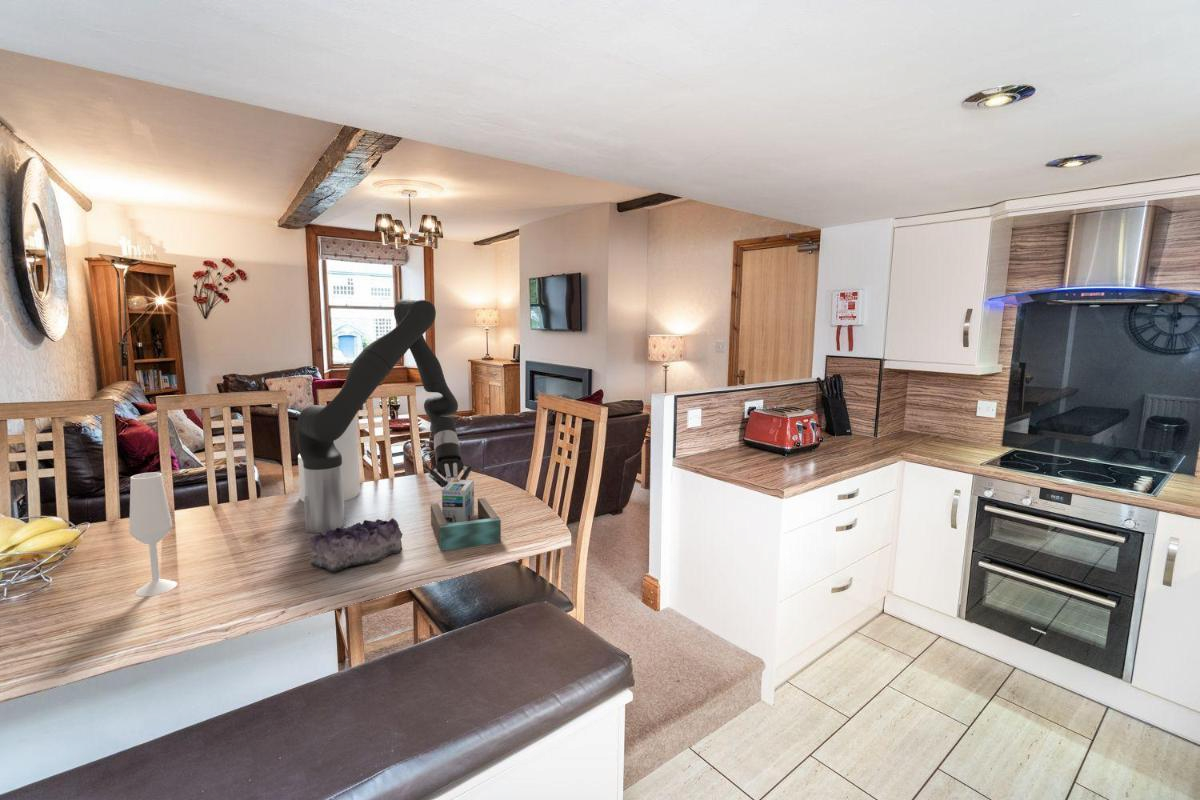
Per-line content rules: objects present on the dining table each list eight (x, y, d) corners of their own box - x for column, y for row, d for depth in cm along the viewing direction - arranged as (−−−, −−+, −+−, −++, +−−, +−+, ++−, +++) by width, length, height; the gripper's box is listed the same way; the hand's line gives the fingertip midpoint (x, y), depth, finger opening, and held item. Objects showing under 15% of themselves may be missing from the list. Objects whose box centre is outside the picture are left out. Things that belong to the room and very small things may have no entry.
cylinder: (371, 493, 175) (368, 408, 171) (320, 507, 160) (315, 415, 156) (340, 484, 184) (336, 403, 180) (289, 496, 169) (284, 409, 165)
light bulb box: (466, 528, 147) (465, 490, 145) (441, 527, 147) (440, 489, 145) (475, 514, 157) (474, 479, 156) (452, 514, 157) (451, 478, 156)
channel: (440, 550, 131) (440, 527, 131) (431, 524, 149) (430, 503, 148) (500, 542, 138) (500, 519, 137) (484, 517, 155) (484, 497, 154)
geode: (390, 540, 138) (392, 504, 136) (409, 560, 130) (412, 522, 128) (303, 559, 124) (305, 519, 122) (319, 583, 116) (321, 541, 114)
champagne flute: (180, 588, 110) (171, 475, 107) (138, 599, 105) (126, 482, 102) (173, 577, 115) (164, 469, 112) (132, 588, 110) (121, 475, 107)
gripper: (425, 443, 161) (432, 494, 152) (470, 440, 166) (478, 489, 157) (424, 456, 166) (429, 506, 157) (466, 453, 172) (475, 501, 163)
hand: (454, 497), depth 157 cm, fingers closed
